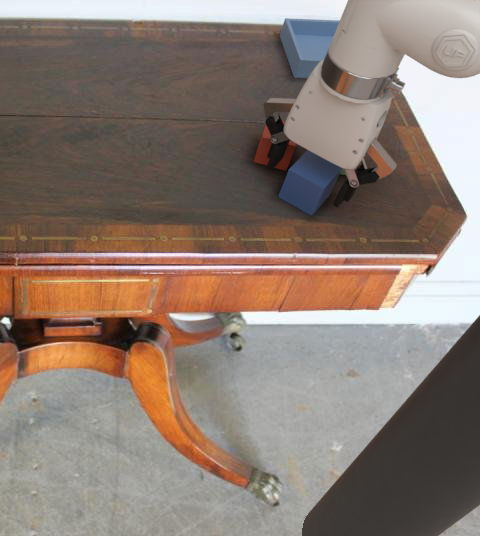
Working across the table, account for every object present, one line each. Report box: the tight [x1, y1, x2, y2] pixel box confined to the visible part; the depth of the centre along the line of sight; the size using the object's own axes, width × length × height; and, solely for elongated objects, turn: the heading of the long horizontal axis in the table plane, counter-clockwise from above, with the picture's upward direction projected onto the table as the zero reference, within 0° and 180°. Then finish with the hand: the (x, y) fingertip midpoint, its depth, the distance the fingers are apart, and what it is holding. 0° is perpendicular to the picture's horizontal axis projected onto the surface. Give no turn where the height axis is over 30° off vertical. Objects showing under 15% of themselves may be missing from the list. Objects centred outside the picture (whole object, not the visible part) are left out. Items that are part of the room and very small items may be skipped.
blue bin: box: [279, 17, 340, 79], centre depth 113 cm, size 11×11×3 cm
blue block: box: [278, 149, 342, 217], centre depth 92 cm, size 5×5×5 cm
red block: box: [253, 120, 297, 172], centre depth 97 cm, size 4×4×4 cm
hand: (306, 182), depth 92 cm, fingers open, 9 cm apart
